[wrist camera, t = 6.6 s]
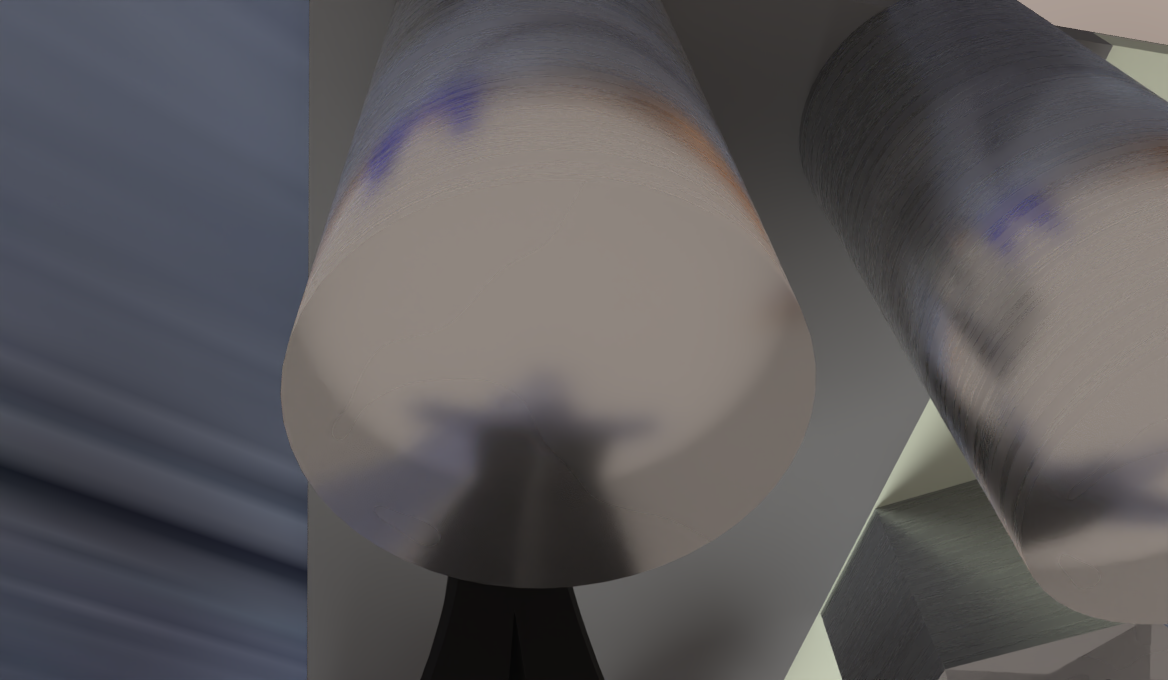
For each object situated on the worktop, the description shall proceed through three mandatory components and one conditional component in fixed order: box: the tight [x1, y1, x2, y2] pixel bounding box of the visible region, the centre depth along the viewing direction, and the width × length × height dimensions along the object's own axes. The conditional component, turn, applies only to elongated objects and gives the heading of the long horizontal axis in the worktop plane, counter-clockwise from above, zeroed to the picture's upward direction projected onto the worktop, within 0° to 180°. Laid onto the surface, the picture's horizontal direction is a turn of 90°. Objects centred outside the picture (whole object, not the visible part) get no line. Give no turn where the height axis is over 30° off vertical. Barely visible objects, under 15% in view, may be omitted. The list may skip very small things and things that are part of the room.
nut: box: [820, 479, 1168, 680], centre depth 13 cm, size 4×5×3 cm
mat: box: [307, 0, 1168, 680], centre depth 13 cm, size 15×12×1 cm
